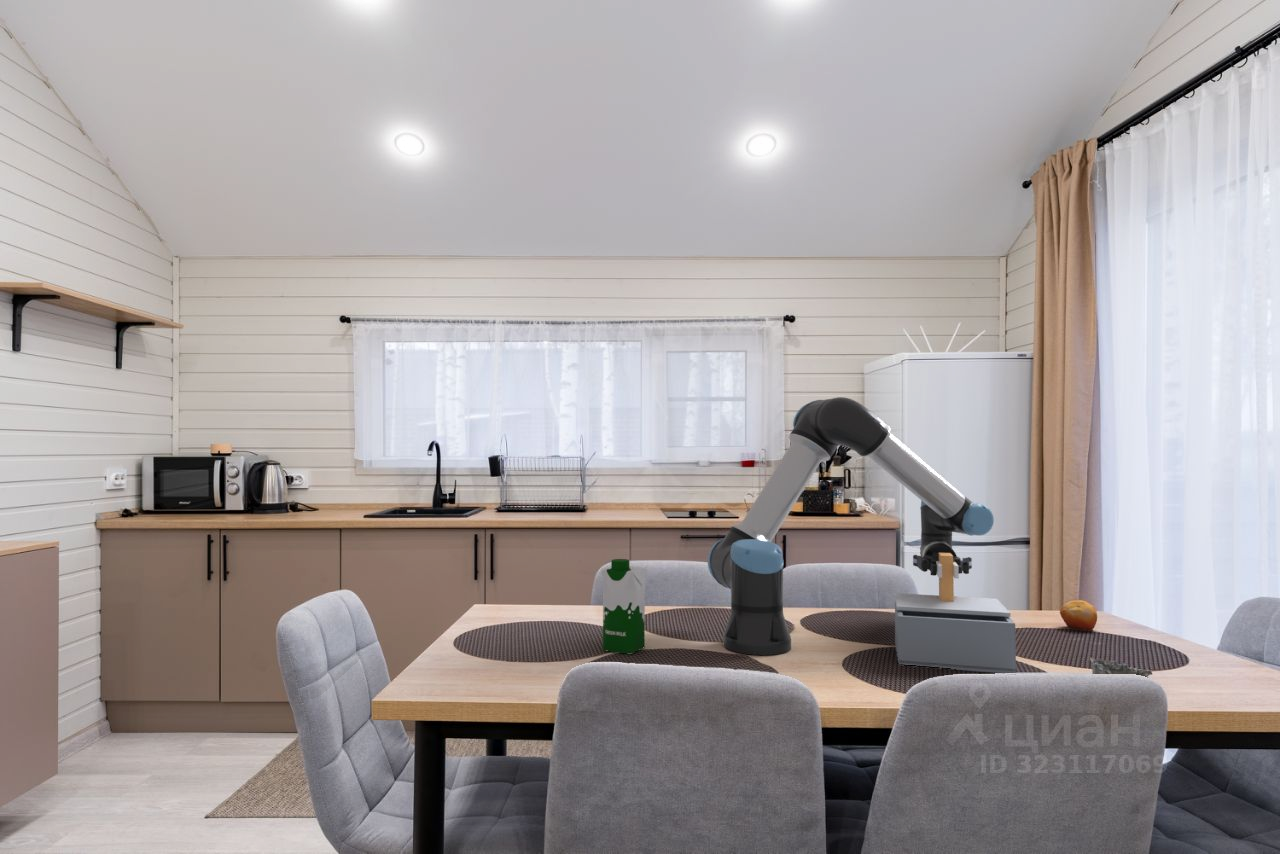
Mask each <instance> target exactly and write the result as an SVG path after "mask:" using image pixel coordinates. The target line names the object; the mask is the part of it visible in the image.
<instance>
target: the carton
mask: <svg viewBox="0 0 1280 854" xmlns="http://www.w3.org/2000/svg"><path fill="white" fill-rule="evenodd" d="M894 636H895V637H894V640H895V641H894V642H895V643H894V644H895V645H894V646H895V652H897V653H896V658H897V657H898V658H897V662H898V663H899V664H905V665H920V666H932V667H944V668H951V669H950V670H954V669H956V670H955V671H957V670H958V671H969V672H983V673H991V674H992V673H994V674H995V673H997V674H1005V673H1016V674H1017V655H1016V654H1017V653H1016V650H1017V649H1016V648H1017V647H1016V643H1017V642H1016V640H1017V639H1016V622H1015V621H1013V619H1012V618H1011V616H1010V617H1004V616H987V615H970V614H953V613H937V612H920V611H903V610H897V608H896V603H895V602H894ZM899 664H898V665H899Z"/></svg>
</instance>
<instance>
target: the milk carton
mask: <svg viewBox="0 0 1280 854" xmlns="http://www.w3.org/2000/svg"><path fill="white" fill-rule="evenodd" d="M646 577H647V567H643V566H631V565H630V560H629V559H627V558H626V559H625V558H614V559H612V560H611V566H609V567H605V568H603V569H601V578H602V593H603V594H602V651H603V650H608V651H611V652H610V653H614V652H619V653H618V654H621V653H633V652H635V651H637V652H639V651H640V650H639V649H641V648H642V649H644V648H645V647H646V646H645V645H646V644H645V643H646V641H645V638H646V637H645V635H646V634H645V633H646V632H645V630H646V629H645V624H646V623H645V619H646V618H645V617H646V616H645V615H646V614H645V613H646V610H645V609H646V605H645V604H646V603H645V600H646V598H645V595H646V593H645V592H646V591H645V590H646V589H645V588H646V587H645V586H646ZM643 647H644V648H643ZM642 649H641V650H642ZM638 650H639V651H638ZM635 653H636V652H635Z"/></svg>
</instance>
